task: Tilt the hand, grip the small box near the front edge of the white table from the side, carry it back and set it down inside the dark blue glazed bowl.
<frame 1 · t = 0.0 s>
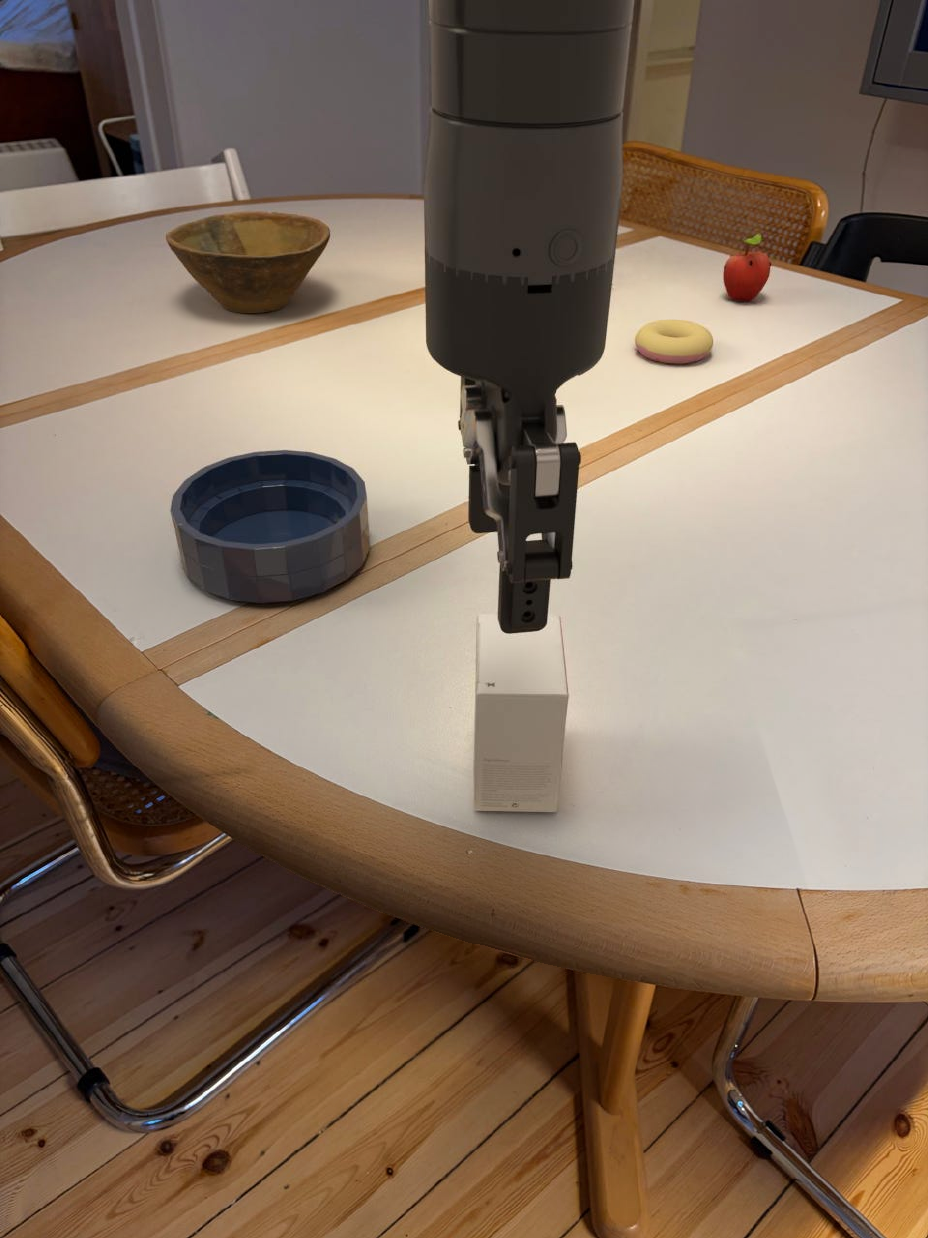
hand: (504, 575, 47), 21 cm above the table, tool pointing down, fingers open, 8 cm apart
small box: (513, 771, 64), on the table
glazed bowl: (277, 552, 85), on the table
apple: (741, 301, 138), on the table
donut: (671, 354, 122), on the table
pottery: (493, 279, 145), on the table
bowl: (257, 303, 136), on the table
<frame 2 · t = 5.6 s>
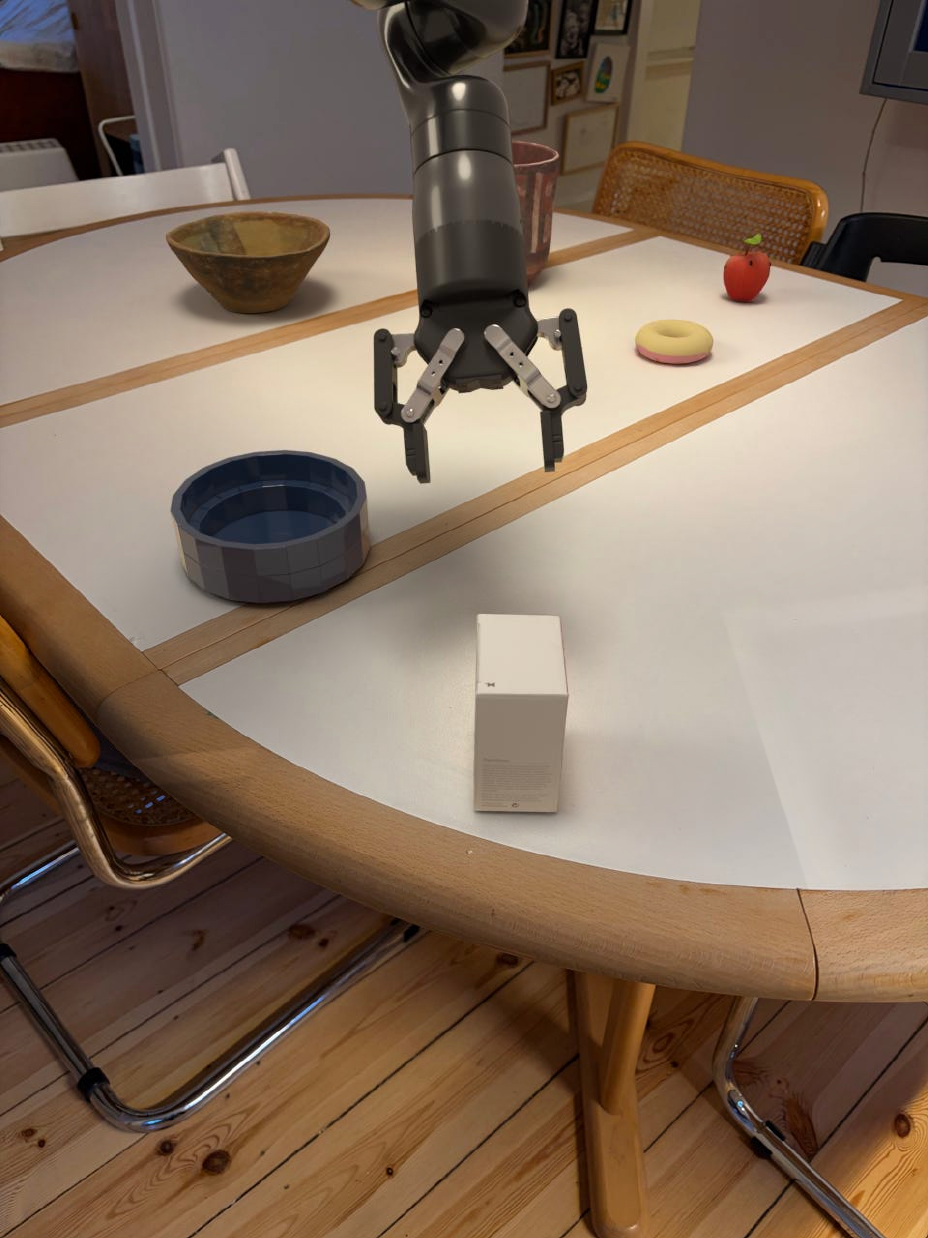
hand: (486, 475, 63), 17 cm above the table, tool tilted 40°, fingers open, 8 cm apart
nothing on the table moved.
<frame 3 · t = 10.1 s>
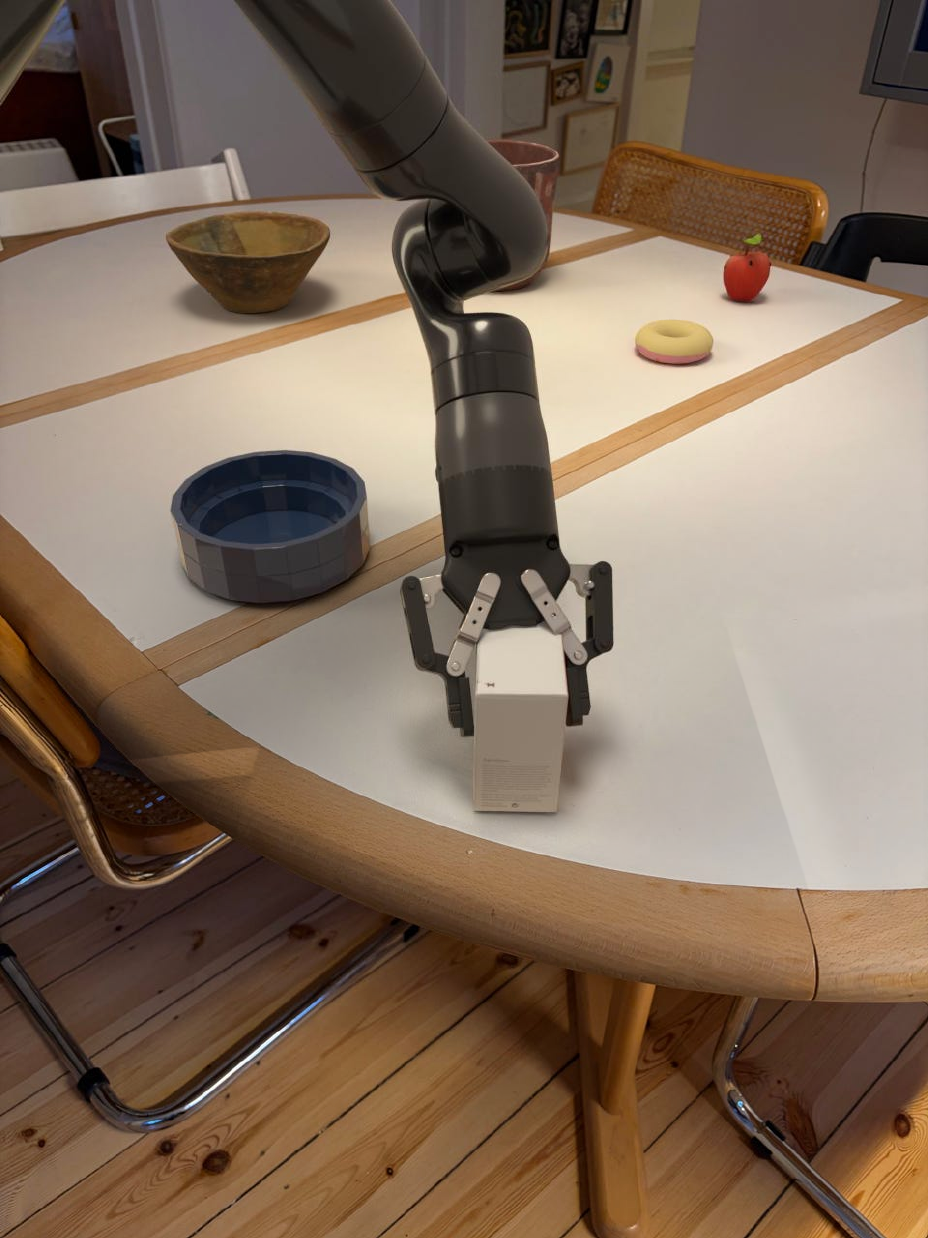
hand: (521, 730, 60), 5 cm above the table, tool tilted 45°, fingers closed on small box, 6 cm apart
small box: (513, 771, 64), on the table, touching gripper
everything else where it was.
when the fingers open (6 cm above the table, at t = 21.8 s): small box stays where it is, resting on glazed bowl.
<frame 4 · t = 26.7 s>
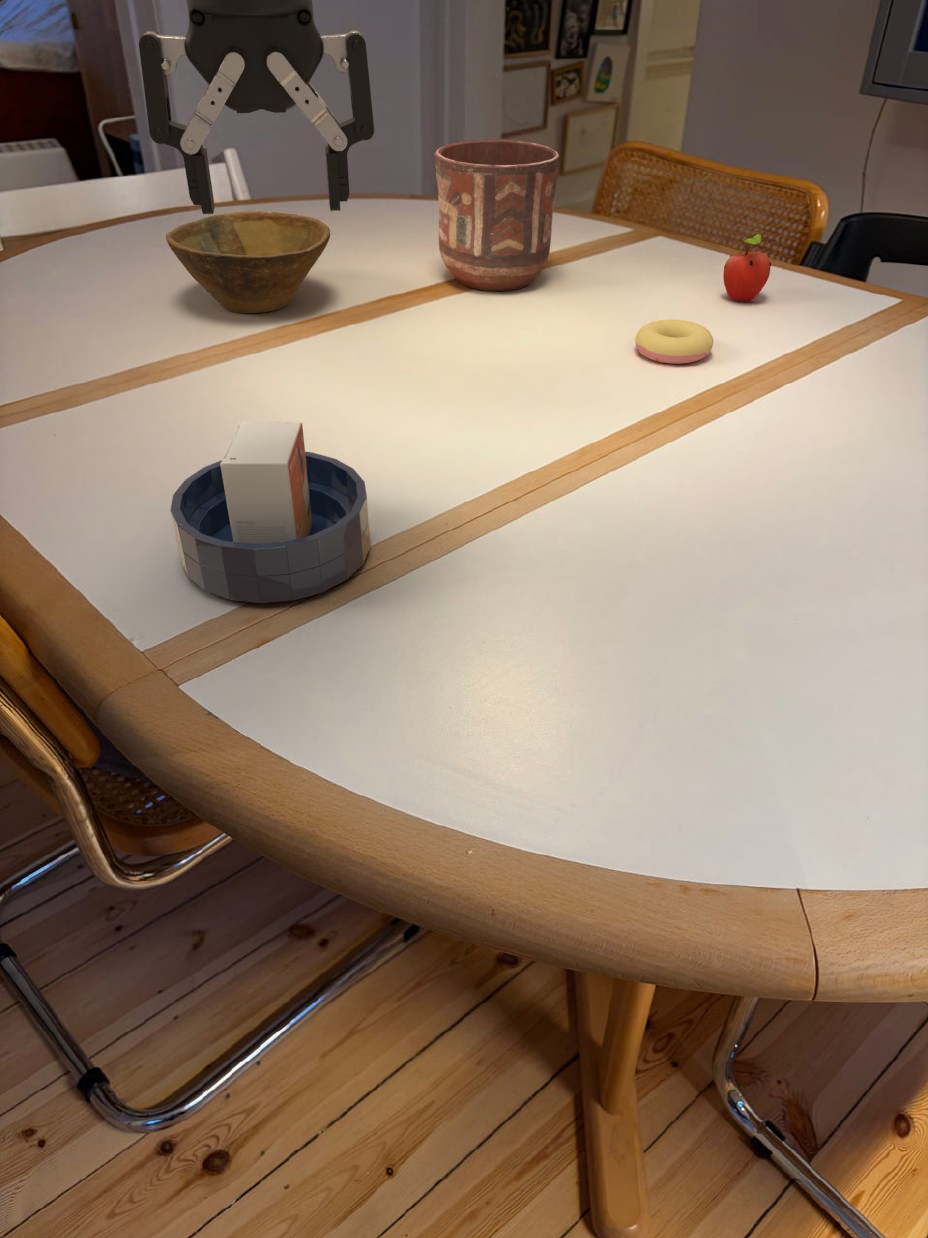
hand: (272, 209, 64), 30 cm above the table, tool pointing down, fingers open, 8 cm apart
small box: (277, 548, 84), resting on glazed bowl
everything else where it was.
at the end: small box inside the target area in the glazed bowl (0.2 cm from its centre), point 0.4 cm above the glazed bowl's base; the gripper is holding nothing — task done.
